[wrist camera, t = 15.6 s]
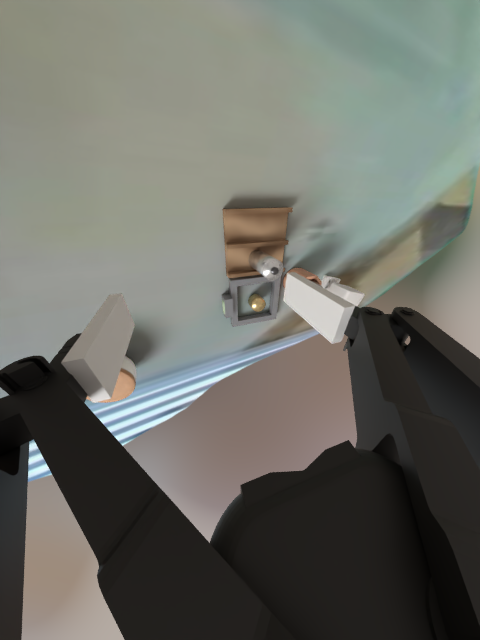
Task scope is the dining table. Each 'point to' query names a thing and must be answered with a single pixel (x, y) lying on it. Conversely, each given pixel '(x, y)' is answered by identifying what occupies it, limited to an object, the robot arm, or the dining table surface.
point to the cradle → (232, 304)
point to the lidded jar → (124, 381)
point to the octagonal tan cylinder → (304, 274)
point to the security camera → (342, 290)
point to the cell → (266, 264)
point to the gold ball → (256, 302)
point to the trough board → (253, 237)
